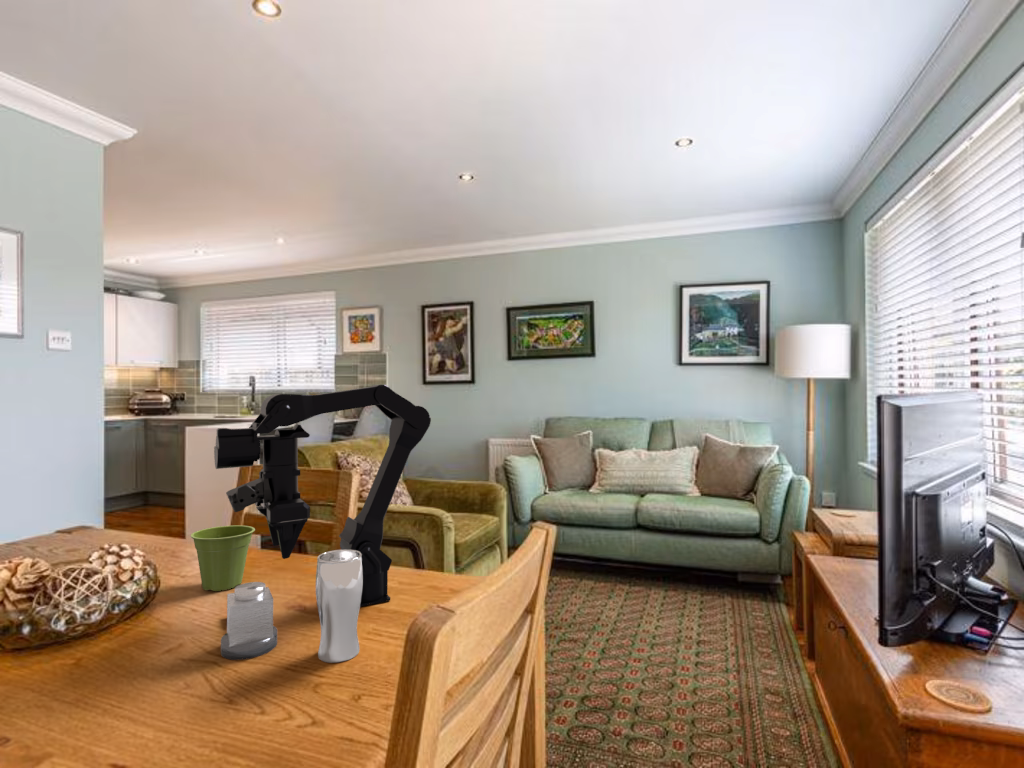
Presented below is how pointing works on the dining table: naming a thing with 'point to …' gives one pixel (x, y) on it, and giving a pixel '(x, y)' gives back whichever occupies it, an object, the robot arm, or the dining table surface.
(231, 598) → the cube with round boss
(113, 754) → the dining table surface
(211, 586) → the plant pot
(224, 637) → the ratchet
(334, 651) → the beer glass
